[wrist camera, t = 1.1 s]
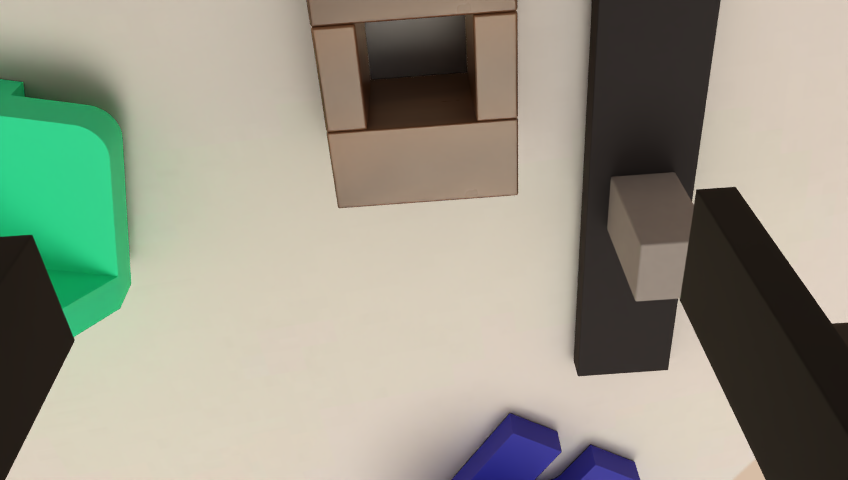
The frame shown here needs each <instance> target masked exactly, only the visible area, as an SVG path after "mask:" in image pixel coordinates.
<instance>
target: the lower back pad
mask: <svg viewBox="0 0 848 480" xmlns="http://www.w3.org/2000/svg"><path fill="white" fill-rule="evenodd" d="M719 7H720V0H592V16H591V36H590V56H589V75H588V95H587V115H586V134H585V154H584V174H583V193H582V213H581V233H580V252H579V272H578V291H577V311H576V331H575V350H574V363H575V367H576V371H577V374H578V376H588V375H602V374H616V373H631V372H645V371H659V370H668V365H669V358H670V351H671V344H672V337H673V330H674V323H675V316H676V309H677V302H678V298H680V295H681V289H682V282H683V276H684V269H685V262H686V256H687V249H688V243H689V236H690V229H691V223H692V216H693V209H694V205H693V203H692V197H693V190H694V183H695V176H696V169H697V162H698V155H699V148H700V141H701V133H702V126H703V119H704V112H705V105H706V98H707V91H708V84H709V77H710V70H711V63H712V56H713V49H714V42H715V35H716V28H717V21H718V14H719Z"/></svg>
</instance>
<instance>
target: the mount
mask: <svg viewBox="0 0 848 480" xmlns="http://www.w3.org/2000/svg"><path fill="white" fill-rule="evenodd" d="M561 452H562V451H561V446H560V442H559V437H558V433H557V431H554V430H552V429H549V428H547V427H544V426H542V425H539V424H536V423H534V422H531V421H529V420H526V419H524V418H521V417H519V416H516V415H513V414H511V413H510V414H509V415H508V416H507V417H506V418H505V419H504V420H503V422H502V423H501V424H500V425H499V426H498V427H497V428H496V430H495V431H494V432H493V433H492V434H491V435H490V436H489V438H488V439H487V440H486V441H485V442H484V443H483V444H482V446H481V447H480V448H479V449H478V450H477V451H476V452H475V454H474V455H473V456H472V457H471V458H470V459H469V460H468V462H467V463H466V464H465V465H464V466H463V467H462V468H461V470H460V471H459V472H458V473H457V474H456V475H455V476H454V478H453V479H452V480H535V479H536V478H537V477H538V476H539V475H540V474H541V473H542V472H543V471H544V470H545V469H546V468H547V467H548V466H549V464H550V463H551V462H552V461H553V460H554V459H555V458H556V457H557V456H558V455H559V454H560V453H561ZM553 480H640V478H639V475H638V471H637V468H636V465H635V462H634V461H631V460H629V459H626V458H623V457H621V456H618V455H616V454H613V453H611V452H608V451H605V450H603V449H600V448H598V447H595V446H593V445H590V446H589V447H588V448H587V449H586V450H585V451H584V452H583V453H582V454H581V455H580V456H579V457H578V458H577V459H576V460H575V461H574V462H573V463H572V464H571V465H570V466H569V467H568V468H567V469H566V470H565V471H564V472H563V473H562V474H561V475H560V476H559V477H557V478H555V479H553Z"/></svg>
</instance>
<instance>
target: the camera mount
mask: <svg viewBox="0 0 848 480" xmlns="http://www.w3.org/2000/svg"><path fill="white" fill-rule="evenodd" d="M20 235H33V238H34V240H35V243H36V245H37V248H38V250H39V252H40V255H41V257H42V260H43V262H44V265H45V267H46V270H47V272H48V275H49V277H50V280H51V282H52V285H53V287H54V290H55V292H56V295H57V297H58V300H59V302H60V305H61V307H62V310H63V312H64V315H65V317H66V320H67V322H68V325H69V327H70V330H71V332H72V335H73V337H75V336H76V335H78V334H79V333H81V332H83V331H84V330H86V329H88V328H89V327H91V326H92V325H94V324H96V323H97V322H99V321H101V320H102V319H104V318H105V317H107V316H109V315H110V314H112V313H113V312H115V311H117V310H118V309H120V308H121V305H122V303H123V301H124V299H125V296H126V294H127V292H128V290H129V287H130V285H131V273H130V256H129V239H128V222H127V205H126V188H125V171H124V154H123V137H122V131H121V129H120V127H119V125H118V123H117V122H116V120H115V119H114V118H113V117H112V116H111V115H110V114H108V113H107V112H106V111H104V110H102V109H100V108H98V107H95V106H91V105H84V104H77V103H69V102H61V101H53V100H45V99H37V98H30V97H25V92H24V85H23V82H19V81H11V80H3V79H0V237H5V236H20Z"/></svg>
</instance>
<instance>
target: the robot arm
mask: <svg viewBox="0 0 848 480" xmlns="http://www.w3.org/2000/svg"><path fill="white" fill-rule="evenodd" d="M680 301H681V303H682V305H683V307H684V310H685V312H686V314H687V316H688V318H689V320H690V322H691V324H692V326H693V328H694V330H695V333H696V335H697V337H698V339H699V341H700V343H701V345H702V347H703V349H704V351H705V354H706V356H707V358H708V360H709V362H710V364H711V366H712V368H713V370H714V372H715V374H716V377H717V379H718V381H719V383H720V385H721V387H722V389H723V391H724V393H725V395H726V397H727V400H728V402H729V404H730V406H731V408H732V410H733V412H734V414H735V416H736V418H737V420H738V423H739V425H740V427H741V429H742V431H743V433H744V435H745V437H746V439H747V441H748V444H749V446H750V448H751V450H752V452H753V454H754V456H755V458H756V460H757V462H758V464H759V466H760V469H761V471H762V473H763V475H764V477H765V479H766V480H848V323H835V324H832V323H831V322H830V321H829V319H828V318H827V316H826V315H825V313H824V312H823V311H822V309H821V308H820V306H819V305H818V304H817V302H816V301H815V299H814V298H813V296H812V295H811V294H810V292H809V291H808V289H807V288H806V286H805V285H804V284H803V282H802V281H801V279H800V278H799V277H798V275H797V274H796V272H795V271H794V269H793V268H792V267H791V265H790V264H789V262H788V261H787V259H786V258H785V257H784V255H783V254H782V252H781V251H780V250H779V248H778V247H777V245H776V244H775V242H774V241H773V240H772V238H771V237H770V235H769V234H768V232H767V231H766V230H765V228H764V227H763V225H762V224H761V222H760V221H759V220H758V218H757V217H756V215H755V214H754V213H753V211H752V210H751V208H750V207H749V205H748V204H747V203H746V201H745V200H744V198H743V197H742V195H741V194H740V193H739V191H738V190H737V188H736V187H728V188H713V189H698V190H696V196H695V203H694V209H693V216H692V223H691V229H690V236H689V243H688V249H687V256H686V262H685V269H684V276H683V282H682V289H681V295H680ZM74 341H75V340H74V337H73V335H72V332H71V330H70V327H69V325H68V322H67V320H66V317H65V315H64V312H63V310H62V307H61V305H60V302H59V300H58V297H57V295H56V292H55V290H54V287H53V285H52V282H51V280H50V277H49V275H48V272H47V270H46V267H45V265H44V262H43V260H42V257H41V255H40V252H39V250H38V248H37V245H36V243H35V240H34V238H33V235H20V236H5V237H0V480H5V479H6V477H7V475H8V473H9V471H10V469H11V467H12V465H13V463H14V461H15V459H16V457H17V455H18V453H19V451H20V449H21V447H22V445H23V443H24V441H25V439H26V437H27V435H28V433H29V431H30V429H31V427H32V425H33V423H34V421H35V419H36V417H37V415H38V413H39V411H40V409H41V407H42V405H43V403H44V401H45V399H46V397H47V395H48V393H49V391H50V389H51V387H52V385H53V383H54V381H55V379H56V377H57V375H58V373H59V371H60V369H61V367H62V365H63V363H64V361H65V359H66V357H67V355H68V353H69V351H70V349H71V347H72V345H73V343H74Z"/></svg>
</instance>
